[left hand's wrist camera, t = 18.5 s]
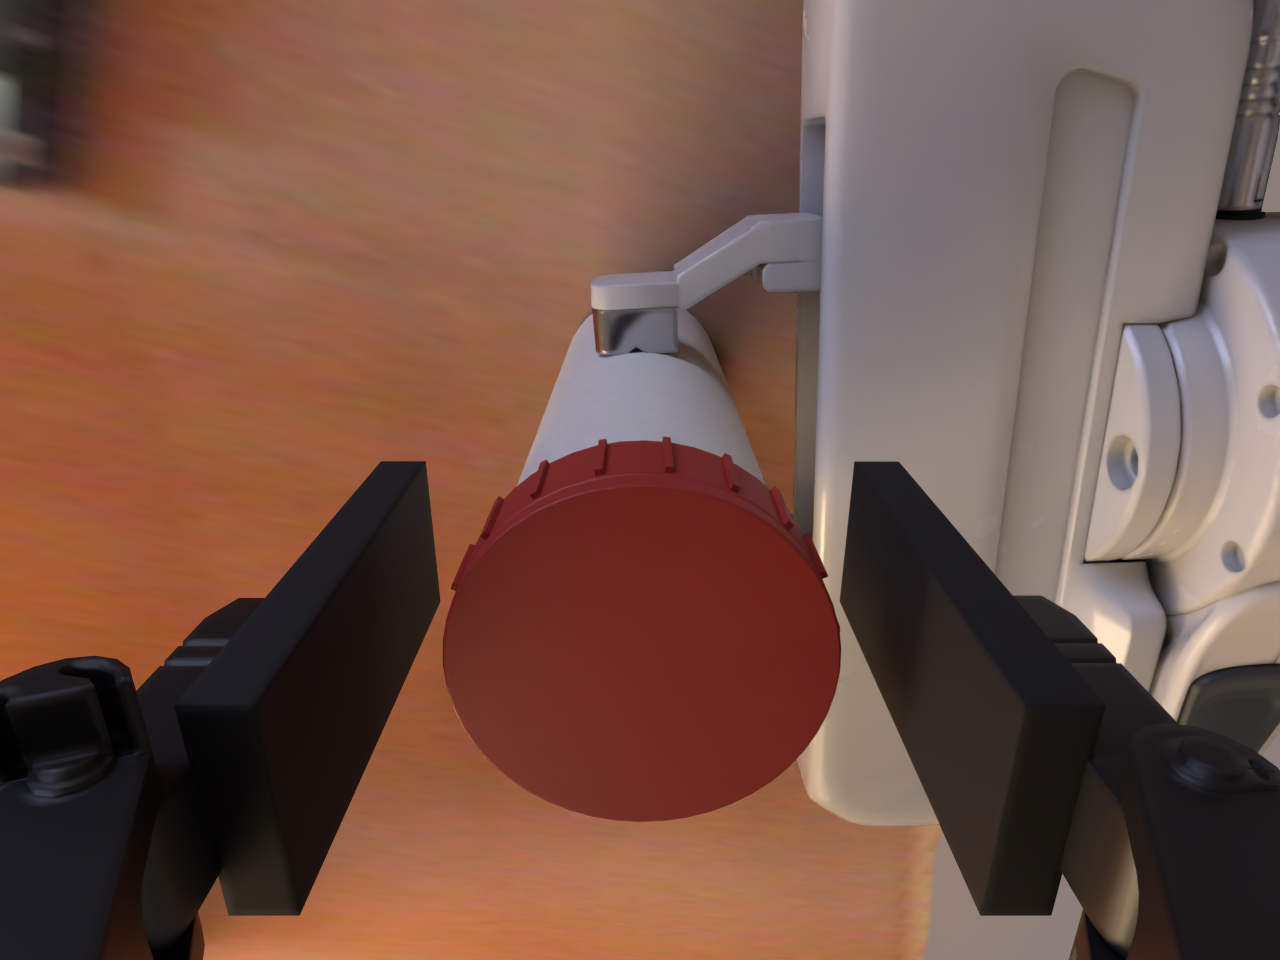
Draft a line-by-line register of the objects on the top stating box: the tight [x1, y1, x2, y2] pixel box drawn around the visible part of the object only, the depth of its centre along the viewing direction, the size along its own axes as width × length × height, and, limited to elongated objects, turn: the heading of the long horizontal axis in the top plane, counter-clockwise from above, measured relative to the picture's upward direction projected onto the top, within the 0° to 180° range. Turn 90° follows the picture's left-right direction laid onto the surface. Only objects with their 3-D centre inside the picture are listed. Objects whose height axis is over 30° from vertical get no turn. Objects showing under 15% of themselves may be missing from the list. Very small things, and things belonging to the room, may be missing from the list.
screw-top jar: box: [517, 307, 766, 486], centre depth 18 cm, size 5×5×15 cm
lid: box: [443, 437, 841, 822], centre depth 11 cm, size 5×5×2 cm
